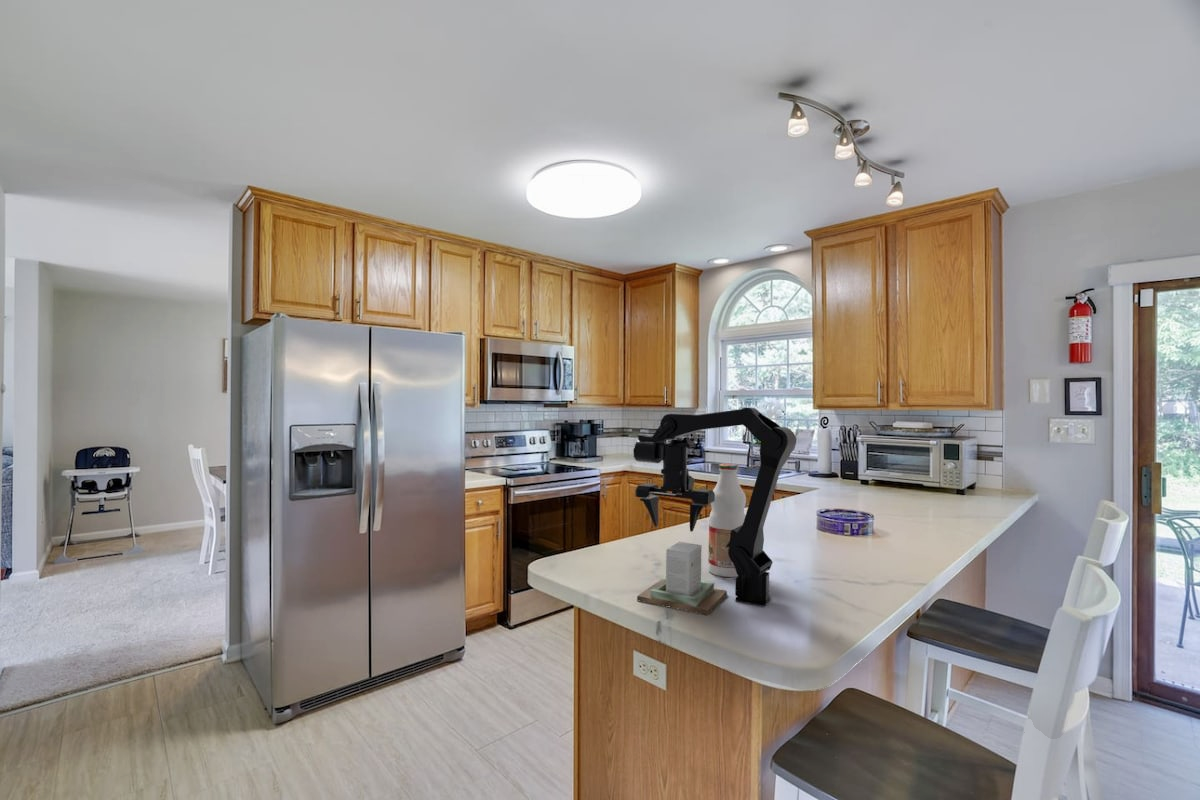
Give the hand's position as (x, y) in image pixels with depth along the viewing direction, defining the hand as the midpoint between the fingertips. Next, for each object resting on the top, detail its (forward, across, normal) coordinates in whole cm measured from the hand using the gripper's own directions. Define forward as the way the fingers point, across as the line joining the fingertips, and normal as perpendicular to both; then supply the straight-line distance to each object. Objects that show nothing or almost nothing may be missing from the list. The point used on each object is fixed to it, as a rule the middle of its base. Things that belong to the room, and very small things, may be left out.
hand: (673, 528), depth 136 cm
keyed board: (+13, -6, +9) cm, 17 cm away
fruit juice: (+13, -9, -15) cm, 22 cm away
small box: (+12, -6, +9) cm, 16 cm away
